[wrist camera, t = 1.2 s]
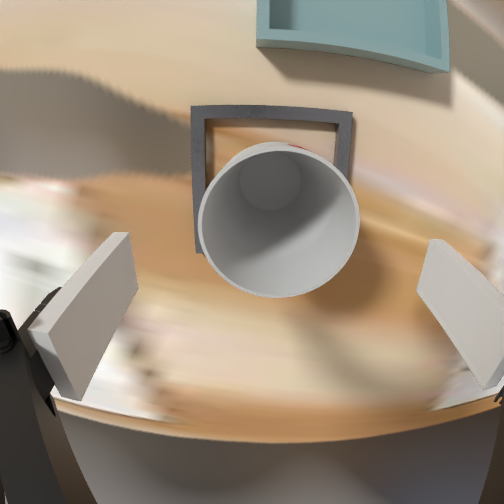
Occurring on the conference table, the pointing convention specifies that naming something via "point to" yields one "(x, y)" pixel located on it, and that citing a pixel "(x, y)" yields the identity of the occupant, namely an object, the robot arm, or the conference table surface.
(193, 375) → the conference table surface
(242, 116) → the grey flat square frame
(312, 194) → the cup
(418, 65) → the bin
